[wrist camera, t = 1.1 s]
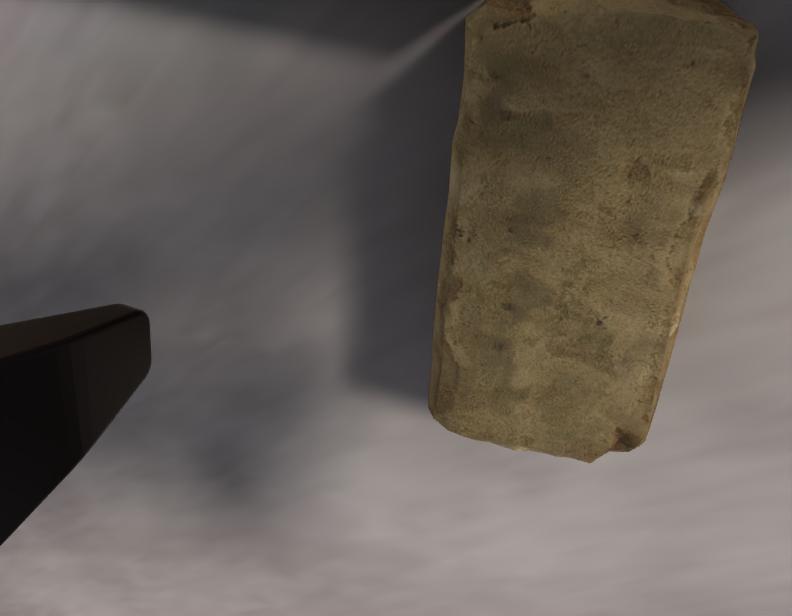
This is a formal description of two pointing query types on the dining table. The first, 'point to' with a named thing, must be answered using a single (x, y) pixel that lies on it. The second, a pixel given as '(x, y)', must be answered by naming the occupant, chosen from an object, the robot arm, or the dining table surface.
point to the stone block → (579, 213)
